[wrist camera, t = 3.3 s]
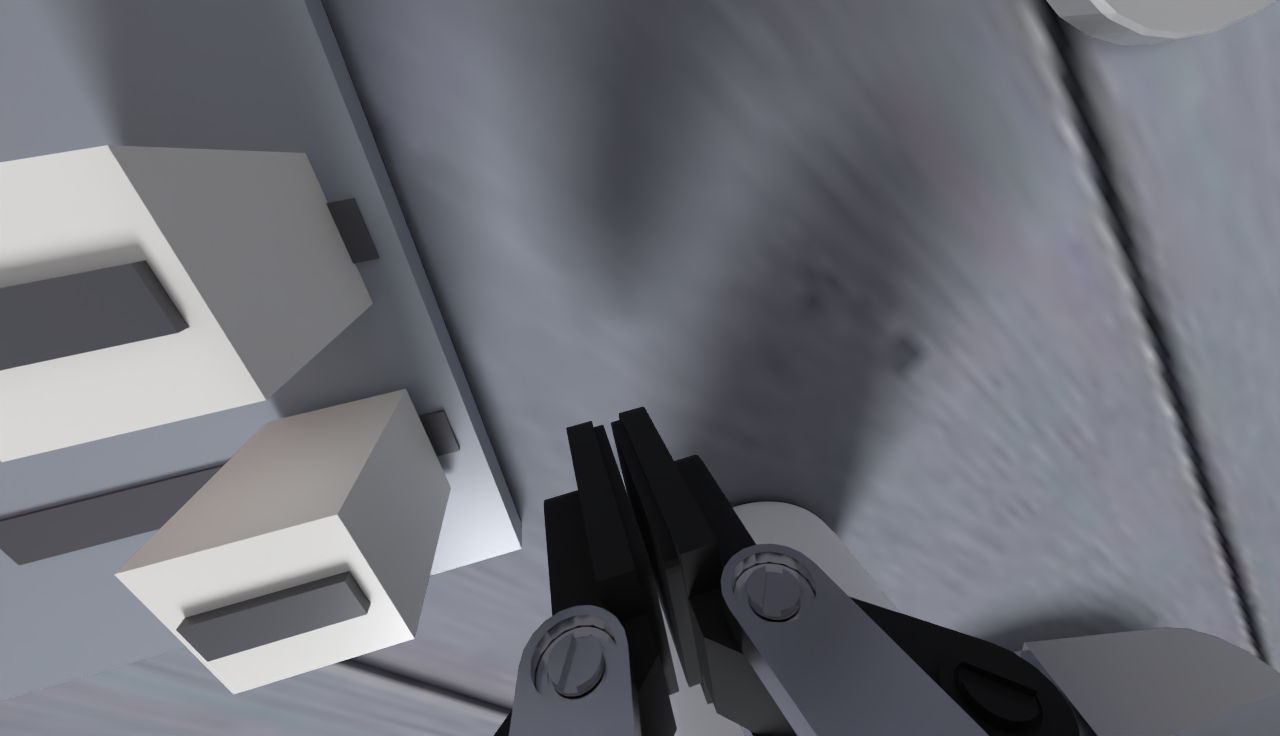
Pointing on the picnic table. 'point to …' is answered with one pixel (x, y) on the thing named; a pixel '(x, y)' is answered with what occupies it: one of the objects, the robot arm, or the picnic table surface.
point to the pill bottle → (800, 530)
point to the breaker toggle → (301, 545)
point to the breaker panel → (190, 298)
